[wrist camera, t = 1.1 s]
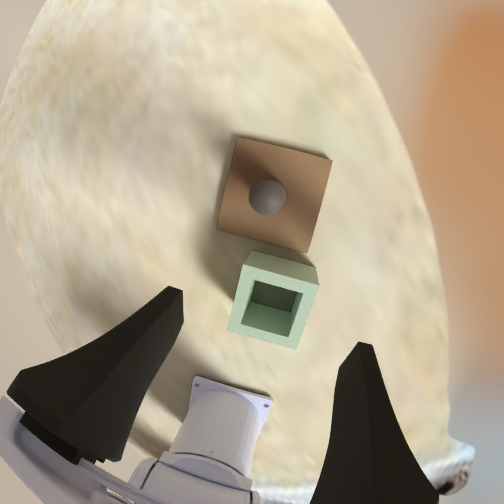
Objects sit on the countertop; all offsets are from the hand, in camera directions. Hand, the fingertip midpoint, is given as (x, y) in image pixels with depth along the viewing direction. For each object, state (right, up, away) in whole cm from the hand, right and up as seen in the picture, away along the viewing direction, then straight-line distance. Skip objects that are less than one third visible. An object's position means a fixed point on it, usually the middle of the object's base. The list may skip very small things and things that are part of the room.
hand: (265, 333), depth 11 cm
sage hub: (+1, 0, +11) cm, 12 cm away
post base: (+1, +7, +10) cm, 12 cm away
